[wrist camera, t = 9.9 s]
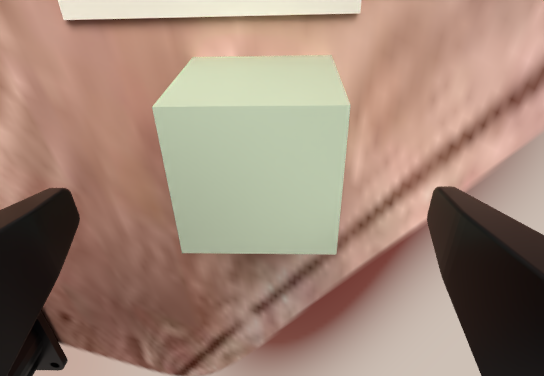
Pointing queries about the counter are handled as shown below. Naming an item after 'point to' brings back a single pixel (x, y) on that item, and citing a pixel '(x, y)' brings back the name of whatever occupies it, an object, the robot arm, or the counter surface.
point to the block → (255, 153)
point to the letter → (200, 8)
